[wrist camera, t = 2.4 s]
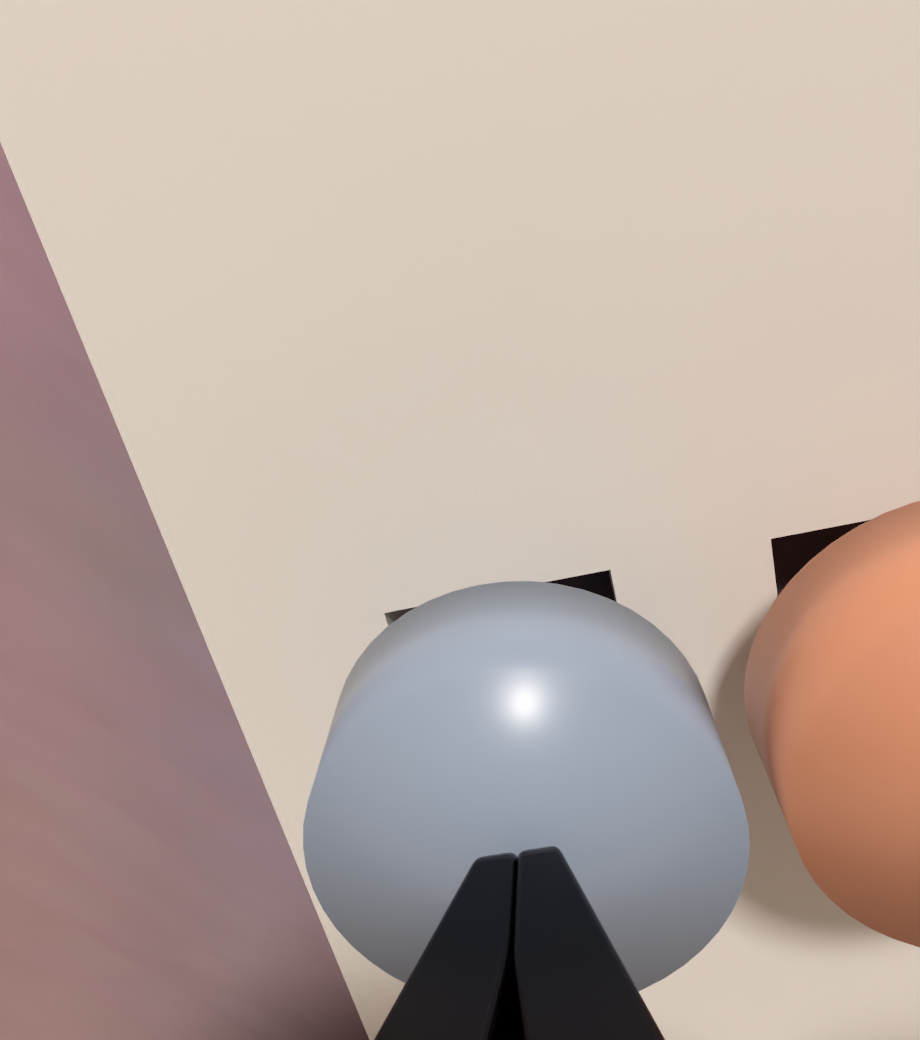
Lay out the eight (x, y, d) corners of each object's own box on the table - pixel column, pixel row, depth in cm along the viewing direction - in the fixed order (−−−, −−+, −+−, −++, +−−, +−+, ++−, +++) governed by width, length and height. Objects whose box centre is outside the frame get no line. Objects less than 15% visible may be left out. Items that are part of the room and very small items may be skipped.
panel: (1782, -601, 8) (2156, -817, 6) (1413, 952, 16) (1533, 1060, 14) (15, -37, 11) (-88, -71, 9) (431, 1065, 18) (423, 1169, 16)
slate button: (657, 485, 11) (719, 629, 8) (705, 770, 13) (772, 985, 10) (315, 554, 12) (242, 715, 9) (404, 817, 14) (372, 1035, 10)
